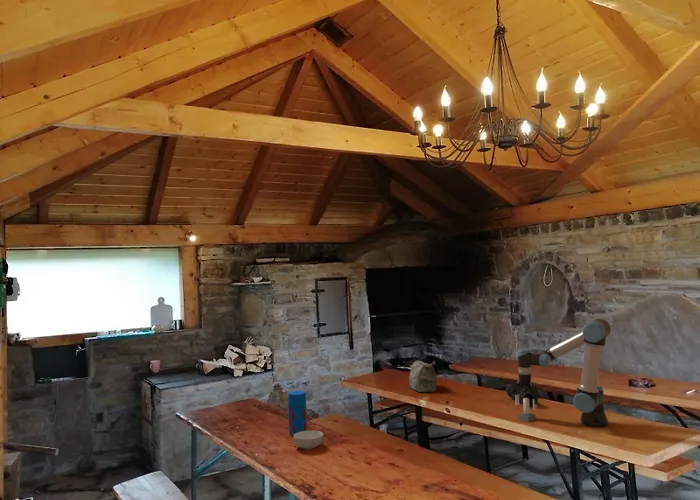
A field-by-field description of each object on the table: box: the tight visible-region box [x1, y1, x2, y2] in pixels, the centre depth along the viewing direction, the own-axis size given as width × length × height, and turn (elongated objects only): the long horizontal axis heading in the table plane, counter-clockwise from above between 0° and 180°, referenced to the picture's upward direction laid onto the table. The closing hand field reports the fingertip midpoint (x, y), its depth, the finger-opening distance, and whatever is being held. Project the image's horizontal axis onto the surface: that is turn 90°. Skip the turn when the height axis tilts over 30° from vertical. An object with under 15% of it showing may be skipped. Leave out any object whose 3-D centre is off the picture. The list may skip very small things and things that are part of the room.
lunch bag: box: [408, 360, 438, 393], centre depth 417 cm, size 26×18×22 cm
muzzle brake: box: [505, 383, 534, 408], centre depth 366 cm, size 10×28×10 cm, turn 8°
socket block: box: [517, 412, 537, 423], centre depth 326 cm, size 7×7×3 cm
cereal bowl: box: [293, 429, 324, 450], centre depth 291 cm, size 17×17×7 cm
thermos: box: [287, 390, 308, 437], centre depth 315 cm, size 11×11×25 cm
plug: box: [523, 398, 531, 416], centre depth 326 cm, size 4×4×13 cm
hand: (526, 407), depth 326 cm, fingers open, 13 cm apart
